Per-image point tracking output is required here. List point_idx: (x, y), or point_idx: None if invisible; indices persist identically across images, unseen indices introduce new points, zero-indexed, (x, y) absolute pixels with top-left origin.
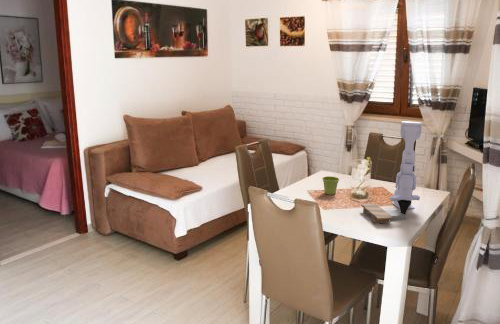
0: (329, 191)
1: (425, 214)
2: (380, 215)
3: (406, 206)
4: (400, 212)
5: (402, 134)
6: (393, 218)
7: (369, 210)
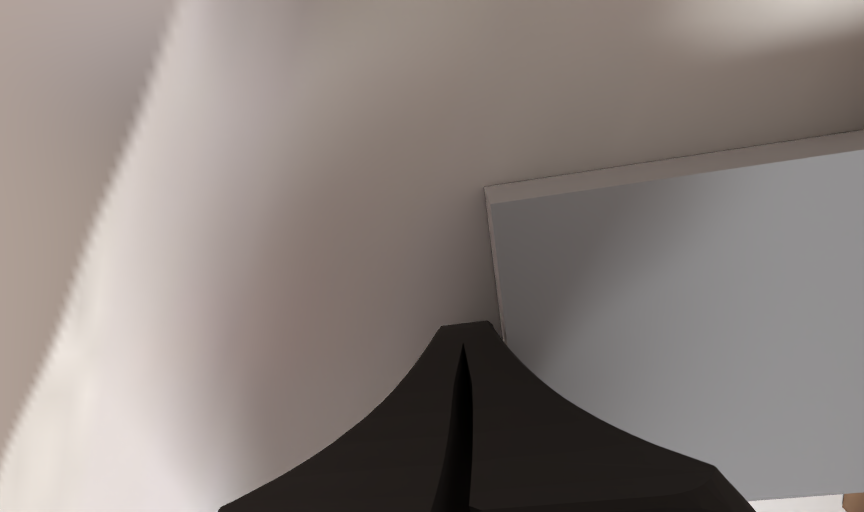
0: None
1: (61, 428)
2: None
3: (438, 428)
4: None
5: None
6: (770, 149)
7: None
